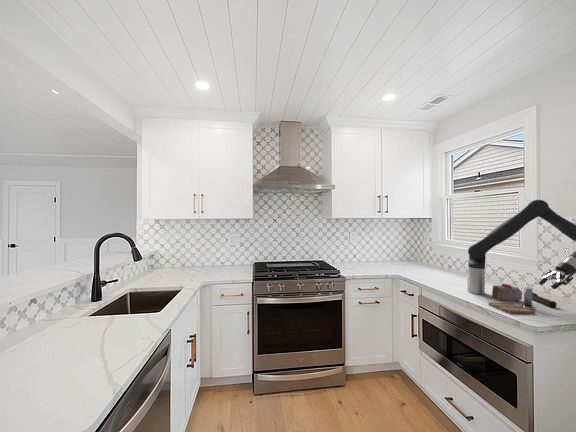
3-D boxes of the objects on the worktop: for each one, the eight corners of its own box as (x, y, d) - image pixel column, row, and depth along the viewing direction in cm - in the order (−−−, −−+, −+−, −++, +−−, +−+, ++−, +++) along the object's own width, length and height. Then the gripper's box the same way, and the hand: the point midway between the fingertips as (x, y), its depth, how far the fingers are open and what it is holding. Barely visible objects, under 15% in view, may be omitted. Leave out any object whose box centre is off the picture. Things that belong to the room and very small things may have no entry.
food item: (513, 298, 165) (513, 282, 165) (523, 302, 157) (523, 286, 157) (490, 297, 167) (490, 282, 167) (499, 301, 159) (499, 285, 159)
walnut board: (488, 305, 152) (488, 302, 152) (511, 305, 152) (511, 302, 152) (509, 314, 138) (509, 311, 138) (534, 314, 138) (534, 311, 138)
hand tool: (557, 308, 147) (557, 300, 147) (549, 308, 148) (549, 300, 148) (533, 298, 166) (533, 291, 166) (526, 298, 166) (526, 290, 167)
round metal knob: (518, 306, 150) (518, 287, 150) (528, 306, 150) (528, 287, 150) (527, 309, 144) (528, 290, 144) (537, 309, 144) (537, 290, 144)
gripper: (553, 259, 151) (531, 277, 153) (576, 263, 137) (551, 284, 139) (563, 268, 151) (541, 287, 152) (587, 274, 137) (562, 294, 138)
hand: (546, 285), depth 146 cm, fingers open, 8 cm apart
